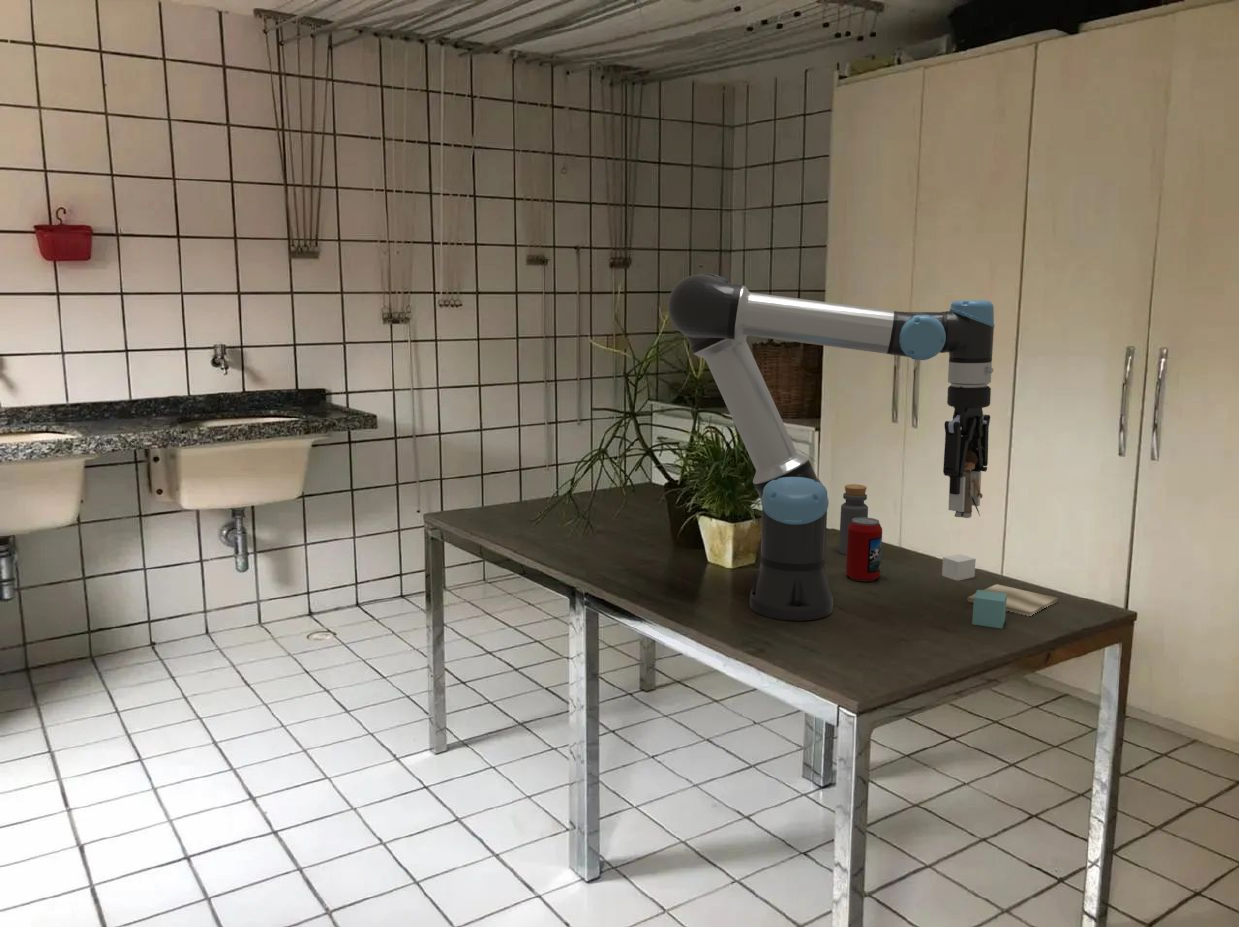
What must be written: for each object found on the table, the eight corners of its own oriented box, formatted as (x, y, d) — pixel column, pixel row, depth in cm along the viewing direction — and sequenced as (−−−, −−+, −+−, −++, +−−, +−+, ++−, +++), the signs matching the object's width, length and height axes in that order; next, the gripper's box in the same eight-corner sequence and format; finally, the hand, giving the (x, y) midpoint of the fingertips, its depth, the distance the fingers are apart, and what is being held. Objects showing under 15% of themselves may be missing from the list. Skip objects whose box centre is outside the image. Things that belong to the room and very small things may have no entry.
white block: (957, 581, 202) (958, 562, 201) (941, 576, 205) (943, 557, 204) (974, 577, 204) (975, 558, 203) (959, 572, 207) (960, 554, 207)
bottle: (863, 549, 225) (867, 483, 222) (867, 556, 219) (871, 489, 216) (837, 548, 225) (840, 483, 222) (840, 555, 219) (843, 488, 217)
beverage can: (880, 583, 199) (883, 525, 197) (846, 581, 201) (848, 523, 198) (878, 574, 206) (882, 517, 204) (845, 572, 207) (848, 515, 205)
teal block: (1002, 629, 174) (1004, 601, 173) (972, 624, 176) (974, 597, 175) (1004, 620, 179) (1006, 593, 178) (975, 616, 181) (977, 589, 180)
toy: (944, 517, 188) (948, 438, 185) (949, 512, 192) (953, 435, 190) (978, 521, 185) (983, 441, 182) (983, 515, 189) (987, 437, 187)
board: (1030, 616, 180) (1030, 612, 180) (967, 601, 189) (967, 597, 188) (1057, 602, 188) (1057, 597, 188) (996, 587, 197) (996, 584, 197)
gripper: (964, 390, 175) (959, 519, 179) (1011, 381, 188) (1005, 502, 192) (925, 388, 180) (921, 513, 184) (973, 379, 193) (968, 496, 197)
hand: (964, 507), depth 188 cm, fingers closed on toy, 6 cm apart
